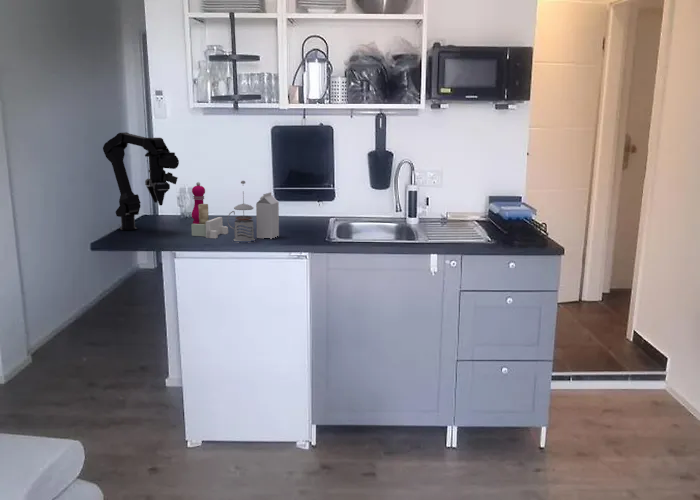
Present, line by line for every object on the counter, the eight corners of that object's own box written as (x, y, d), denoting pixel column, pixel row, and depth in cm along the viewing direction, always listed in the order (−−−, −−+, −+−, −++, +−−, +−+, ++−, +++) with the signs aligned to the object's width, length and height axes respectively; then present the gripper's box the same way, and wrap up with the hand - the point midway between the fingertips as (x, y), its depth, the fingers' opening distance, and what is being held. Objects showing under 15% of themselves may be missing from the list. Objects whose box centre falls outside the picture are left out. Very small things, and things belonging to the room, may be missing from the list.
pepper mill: (203, 226, 296) (202, 183, 291) (189, 225, 297) (187, 182, 293) (210, 223, 303) (208, 181, 298) (195, 222, 304) (194, 181, 300)
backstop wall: (206, 237, 270) (205, 221, 268) (219, 232, 281) (218, 217, 280) (215, 238, 269) (215, 222, 267) (228, 233, 280) (227, 217, 278)
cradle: (191, 235, 273) (191, 224, 272) (201, 231, 281) (201, 220, 280) (207, 236, 271) (207, 225, 270) (217, 233, 280) (216, 221, 278)
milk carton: (279, 236, 275) (278, 192, 271) (271, 239, 268) (271, 194, 264) (264, 235, 277) (263, 191, 273) (256, 238, 270) (255, 193, 266)
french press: (256, 242, 262) (255, 181, 257) (227, 243, 260) (226, 181, 255) (255, 237, 272) (254, 179, 266) (228, 238, 270) (226, 179, 264)
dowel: (197, 233, 276) (196, 204, 273) (205, 231, 279) (203, 203, 276) (203, 234, 274) (202, 205, 271) (211, 233, 277) (210, 204, 274)
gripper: (181, 168, 267) (182, 205, 270) (169, 165, 283) (171, 200, 286) (154, 169, 262) (156, 207, 265) (144, 166, 277) (146, 201, 281)
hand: (158, 203), depth 274 cm, fingers open, 9 cm apart
